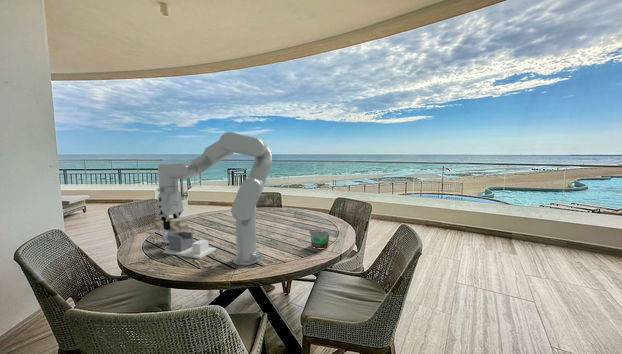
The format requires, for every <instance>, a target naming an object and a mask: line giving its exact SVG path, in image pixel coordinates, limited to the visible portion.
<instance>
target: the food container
mask: <svg viewBox="0 0 622 354" xmlns="http://www.w3.org/2000/svg"><path fill="white" fill-rule="evenodd" d="M308 233H309V235H310V240H311V241H310V242H311V247H312V246H313V247H315V248H326V247H327V246H328V247H329V241H330V235H331V231H330V229H329V230H327V231H326V230H321V229H319V230H312V229H311V228H310V229H309V232H308ZM326 249H327V248H326Z"/></svg>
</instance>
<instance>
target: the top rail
mask: <svg viewBox="0 0 622 354" xmlns="http://www.w3.org/2000/svg"><path fill="white" fill-rule="evenodd" d="M165 218H166V216H165ZM168 221H170V230H165V229H164V226H163V221H162V220H161V219H159V218H157V217H155V218H154V220H153V222H154V223H153V224H154V230H156V231H164V230H165V231H173V232H187V231H189V219H187V218H173V217H169V220H168Z"/></svg>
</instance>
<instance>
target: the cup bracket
mask: <svg viewBox="0 0 622 354" xmlns="http://www.w3.org/2000/svg"><path fill="white" fill-rule="evenodd" d="M193 237H194V235H193V232H191V231H184V232H176V233H173V234H170V235H168V241H169V244H168V245H169V246H168V247H169V248H167V249H165V250H163V251H162V253H163V254H169V255H173V256H175V255H176V256H180V257H185V258H187V257H188V258H192V259H197V260H198V259H199V260H201V259H202V258H204V257H206V256H208V255H209V254H211V253H213V252H215V251H217V248H216V247H211V246H209V240H208V239H207V240H205V239H200V240H197V241H195V242H194V238H193Z"/></svg>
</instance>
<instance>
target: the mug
mask: <svg viewBox="0 0 622 354" xmlns="http://www.w3.org/2000/svg"><path fill="white" fill-rule="evenodd" d="M163 232H164V233H163V234H162V236H161V240H162V242H163V243H165V244H168V245H169V241H168V235H170V234H173V233H176V232H173V231H165V230H163Z"/></svg>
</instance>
